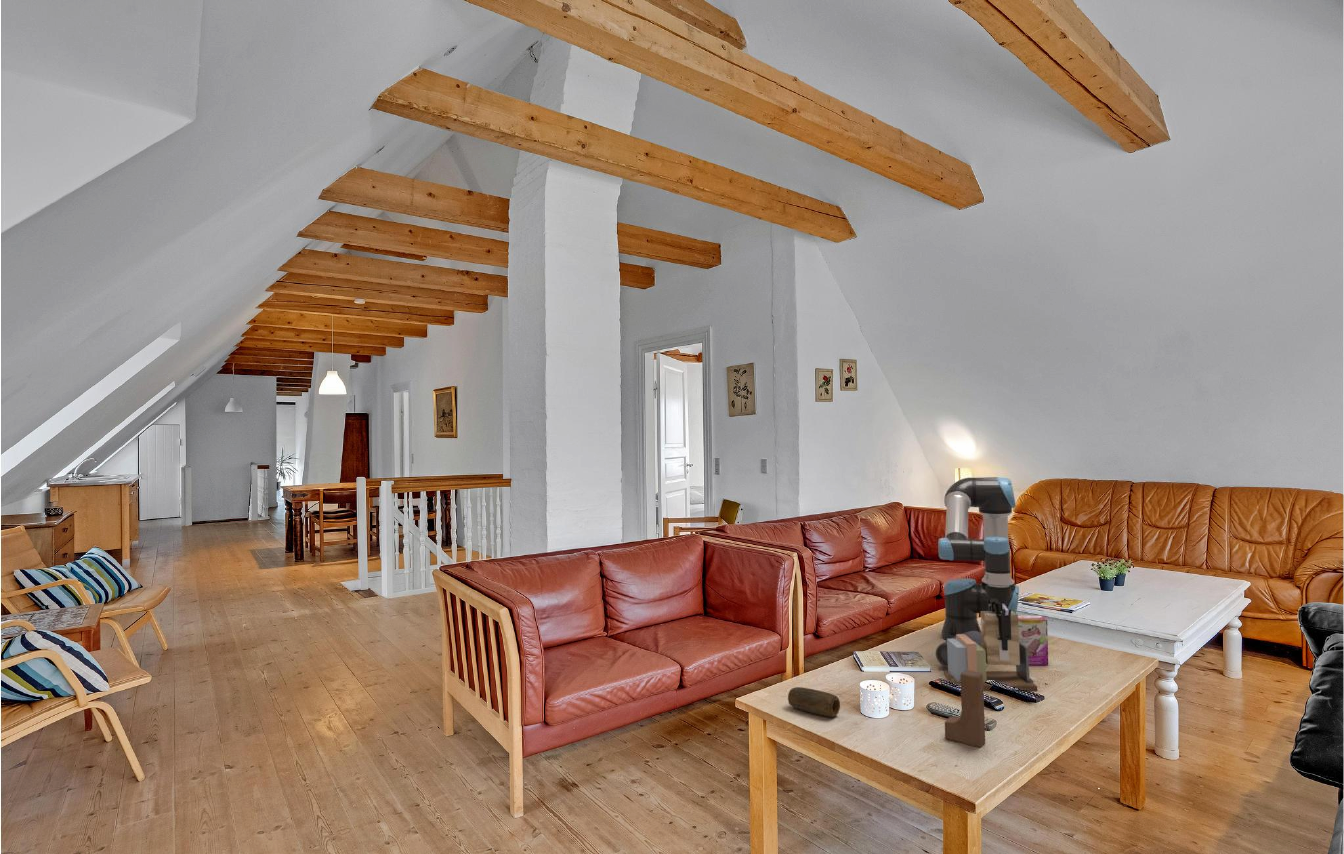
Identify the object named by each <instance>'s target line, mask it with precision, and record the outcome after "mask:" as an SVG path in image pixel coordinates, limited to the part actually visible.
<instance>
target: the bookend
mask: <svg viewBox="0 0 1344 854" xmlns="http://www.w3.org/2000/svg"><path fill="white" fill-rule="evenodd" d="M1019 652H1020V665H1015V667H1016V669H1015V671H1016V674H1017V675H1018V676H1019V677H1020V678H1022V679H1023V680H1024V681H1025V682H1027V683H1034V680H1033V679H1032V678H1031V677H1030V665H1029V655H1028V647H1026V646H1025V645H1023V644H1022V643H1020V642H1019ZM1034 684H1035V683H1034Z"/></svg>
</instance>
